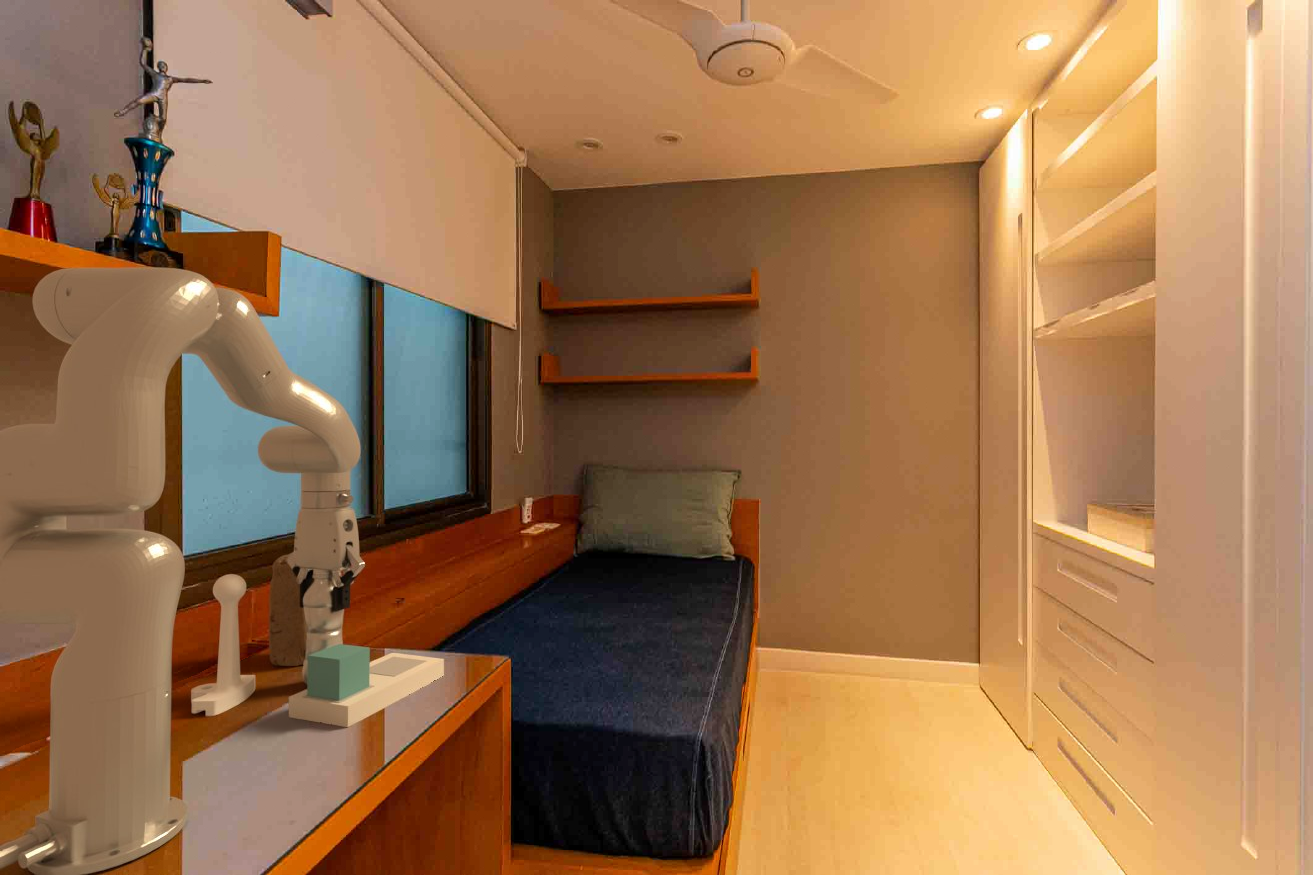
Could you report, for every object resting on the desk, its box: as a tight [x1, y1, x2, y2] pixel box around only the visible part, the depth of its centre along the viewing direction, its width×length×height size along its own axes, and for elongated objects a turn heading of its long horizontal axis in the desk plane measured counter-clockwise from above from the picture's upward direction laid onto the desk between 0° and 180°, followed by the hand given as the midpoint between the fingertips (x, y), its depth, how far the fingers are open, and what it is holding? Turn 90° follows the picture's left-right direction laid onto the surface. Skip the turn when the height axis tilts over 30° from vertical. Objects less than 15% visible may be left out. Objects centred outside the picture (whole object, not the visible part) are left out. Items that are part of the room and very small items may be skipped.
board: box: [288, 652, 445, 728], centre depth 106 cm, size 22×11×3 cm, turn 162°
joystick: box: [190, 573, 256, 717], centre depth 103 cm, size 11×8×20 cm
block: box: [268, 552, 310, 667], centre depth 123 cm, size 11×8×20 cm
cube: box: [306, 643, 371, 701], centre depth 99 cm, size 6×6×6 cm
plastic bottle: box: [301, 568, 345, 686], centre depth 110 cm, size 6×7×20 cm
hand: (324, 606), depth 110 cm, fingers closed on plastic bottle, 6 cm apart
